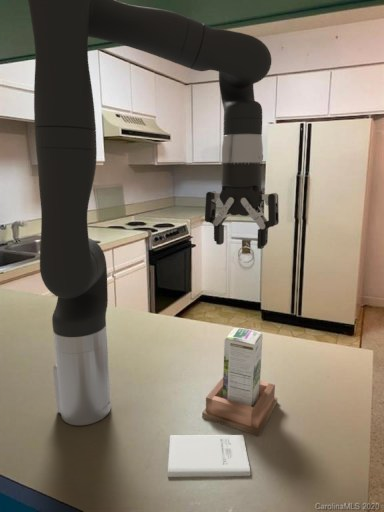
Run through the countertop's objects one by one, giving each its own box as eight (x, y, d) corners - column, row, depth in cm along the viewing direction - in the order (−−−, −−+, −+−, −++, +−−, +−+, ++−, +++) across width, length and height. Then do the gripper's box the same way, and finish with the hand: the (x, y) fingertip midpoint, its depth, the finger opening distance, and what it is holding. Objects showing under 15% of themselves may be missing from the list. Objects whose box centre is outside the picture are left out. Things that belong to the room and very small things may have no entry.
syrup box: (231, 393, 77) (232, 326, 74) (260, 400, 75) (263, 331, 71) (221, 409, 72) (222, 338, 69) (252, 417, 70) (255, 343, 66)
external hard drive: (170, 442, 66) (242, 441, 66) (167, 480, 58) (250, 479, 58) (170, 434, 66) (243, 433, 66) (167, 471, 58) (250, 470, 58)
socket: (202, 417, 71) (202, 398, 70) (225, 387, 81) (226, 370, 80) (259, 436, 66) (260, 415, 65) (277, 402, 76) (278, 384, 75)
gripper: (198, 161, 72) (198, 246, 76) (273, 160, 65) (269, 253, 69) (215, 161, 78) (215, 239, 82) (285, 160, 72) (281, 245, 75)
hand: (240, 246), depth 75 cm, fingers open, 8 cm apart
